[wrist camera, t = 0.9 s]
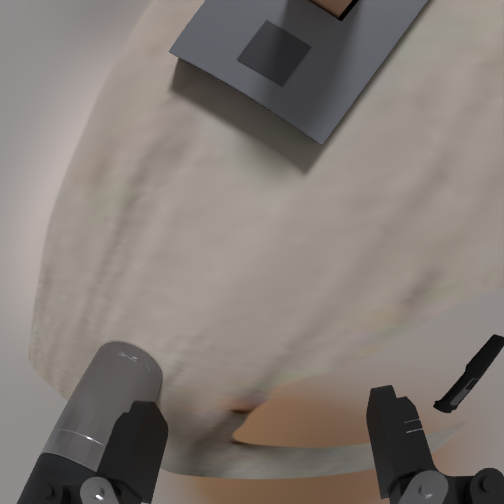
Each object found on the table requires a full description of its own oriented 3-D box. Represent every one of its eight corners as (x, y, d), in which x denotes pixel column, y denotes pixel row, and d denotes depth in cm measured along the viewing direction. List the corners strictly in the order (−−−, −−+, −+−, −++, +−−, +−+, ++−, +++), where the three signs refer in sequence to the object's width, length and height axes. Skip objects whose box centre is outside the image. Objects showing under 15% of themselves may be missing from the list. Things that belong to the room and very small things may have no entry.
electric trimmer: (503, 328, 34) (514, 341, 31) (445, 405, 40) (452, 419, 37) (490, 324, 34) (501, 337, 31) (430, 404, 40) (436, 418, 37)
